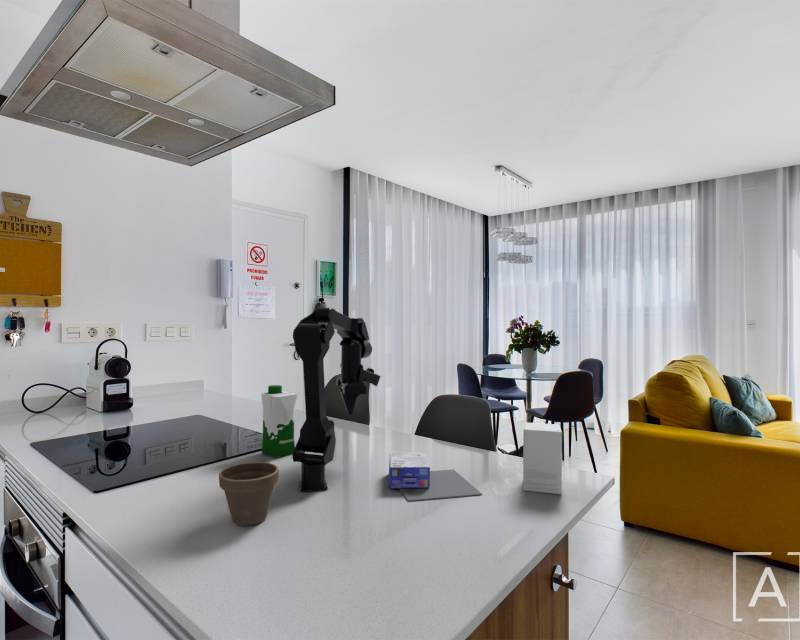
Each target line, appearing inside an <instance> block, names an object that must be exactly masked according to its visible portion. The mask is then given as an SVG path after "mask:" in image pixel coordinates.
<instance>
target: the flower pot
mask: <svg viewBox="0 0 800 640" xmlns="http://www.w3.org/2000/svg"><path fill="white" fill-rule="evenodd" d="M279 474H280V469H279V467H278V465H276V464H275V463H270V462H264V461H254V462H252V461H251V462H243V463H238V464H235V465H231V466H227V467H226V468H224V469H222V470H221V471H220V472H219V473H218V483H219V488H220V489H221V490H223V491H224V494H225V498H226V503H227V507H228V510H229V514H230V517H231V520H232V522H233V524H235V525H237V526H239V527H240V526H241V527H250V526H255V525H258V524H260V523H262V522H264V521H265V520H266V518H267V517H268V512H269V509H270V505H271V501H272V495H273V492H274V487H275V485H276V484H277V483H278V482H279V480H280V479H279V478H280V475H279Z"/></svg>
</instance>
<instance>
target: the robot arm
mask: <svg viewBox="0 0 800 640" xmlns="http://www.w3.org/2000/svg"><path fill="white" fill-rule="evenodd" d="M335 330H336V331H335ZM335 333H337V334H338V336H340V338H341V339H342V340H341V341H340V342H339V346H341V355H340V356H341V362H340V364H339V367H340V370H341V371H340V375H339V376H338V377H337V378H336V379H335V380H336V381H335V382H336V384H335V385H336V386H337V387H340V386H341V388H339V389H338V391H339V393H340V395H341V398H342V399H341V400H342V401H343V403H344V406H345V409H346V412H347V414H348V415H352V416H353V413H354V409H355V406H356V402H357V399H358V397H359V396H360V395H367V393H368V386H367V385H365V383H364V382H366V383H367V384H368V383H369V384H371V385H373V386H375V387H378V385H379V382H380V379H381V377H382V376H381V375H379V374H377V373H376V372H375V370H374V369H373V368H371V367H367V368H366V369H365V368H364V365H363V364H362V359H365V358H368V357H370V355H372V352H373V346H372V344H371V342H370V337H369V336H370V335H369V331H368V326H367V325H366V322H365V321H364V319H363V318H362V317H349V316H347V315H346V314H343V313H341V312H339V311H337V310H336V309H335V308H333V307H316V308H314V309H313V311H312V312H311V313H310V314H309V315H307V316H305V317H304V318H302V319H301V320H299V322H298V324H297V325H296V326H295V328H294V329H293V332H292V340H293V344H294V350H295V352H296V353H297V355H298V357H299V358H300V359H301V361H302V370H303V388H304V403H305V404H304V405H305V408H304V409H305V421H304V422H303V424H302V426H301V427H300V429H299V437H298V439H297V442H296V443H295V449H294V451H293V453H292V454H291V455H292V461H293V463H294V462H295V463H296V462H297V463H301V466H300V468H301V470H300V472H301V473H300V480H298V486H299V492H300V493H301V492H312V491H325V490H328V489H329V488H328V487H329V486H328V484H327V480H326V465H328V464H329V463H330V462H332V461H333V460H334V455H335V449H336V442H337V440H336V439H337V438H336V433H335V422H334V420H333V419H329V418H328V417H327V409H326V408H327V406H326V388H325V386H326V385H325V384H326V383H325V368H324V366H325V365H324V358H326V357H325V356H326V355H327V353H328V351H329V349H330V344H331V343H330V342H331V340H332V339H333V337H334V335H335Z"/></svg>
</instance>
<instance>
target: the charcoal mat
mask: <svg viewBox="0 0 800 640" xmlns="http://www.w3.org/2000/svg"><path fill="white" fill-rule="evenodd" d="M398 490H399V491H400V493H401V494H402V495H403V497H404V498H405V500H406V501H407V502H409V503H410V502H419V501H420V502H421V501H430V500H431V501H432V500H440V499H443V500H444V499H454V498H464V497H465V498H466V497H475V496H477V497H478V496H483V493H482V492H480V490H478V489H477V488H476V487H475V486H474V485H473V484H471V483H470V482H469V481H468V480H466V478H465V477H463V476H462V475H461V474H460V473H458V472H457V470H455V469H444V470H443V469H441V470H430V487H429V488H398Z"/></svg>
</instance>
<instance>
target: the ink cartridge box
mask: <svg viewBox="0 0 800 640" xmlns="http://www.w3.org/2000/svg"><path fill="white" fill-rule="evenodd" d="M388 461H389V462H388V463H389V464H388V479H389V480H388V481H389V488H390V489H399V488H429V487H430V471H431V466H430V463H429V459H428V455H427V453H426V452H390V453H389V459H388Z"/></svg>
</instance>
